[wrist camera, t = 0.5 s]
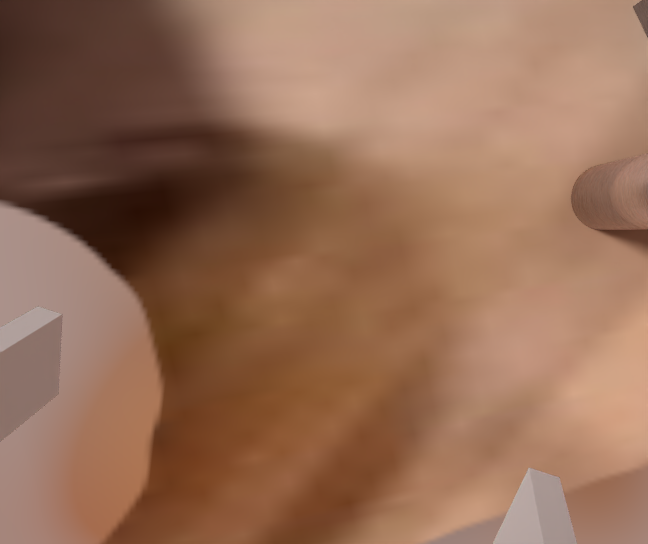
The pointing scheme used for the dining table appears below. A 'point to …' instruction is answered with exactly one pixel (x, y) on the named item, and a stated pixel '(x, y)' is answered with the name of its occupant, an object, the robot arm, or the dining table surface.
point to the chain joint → (642, 14)
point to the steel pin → (613, 195)
